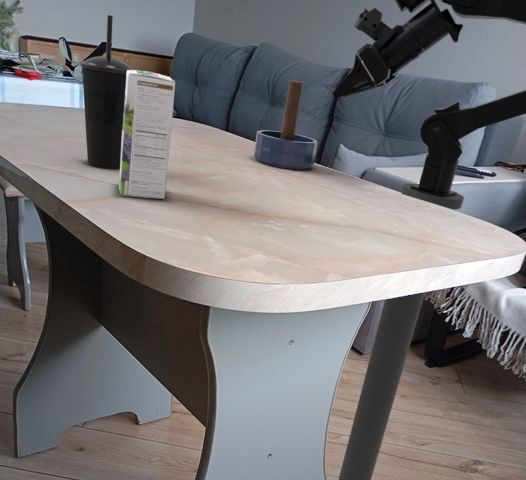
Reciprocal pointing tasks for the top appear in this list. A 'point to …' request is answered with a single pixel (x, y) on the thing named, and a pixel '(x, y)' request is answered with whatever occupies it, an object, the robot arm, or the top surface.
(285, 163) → the bowl
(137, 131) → the syrup box
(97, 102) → the drinking cup
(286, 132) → the rod
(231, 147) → the top surface
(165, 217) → the top surface
